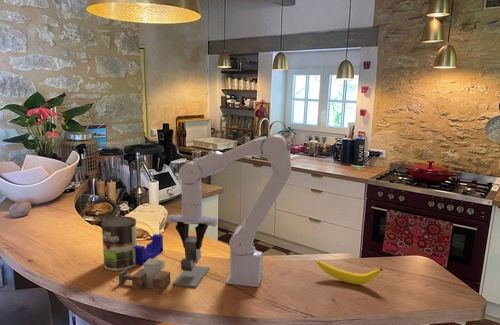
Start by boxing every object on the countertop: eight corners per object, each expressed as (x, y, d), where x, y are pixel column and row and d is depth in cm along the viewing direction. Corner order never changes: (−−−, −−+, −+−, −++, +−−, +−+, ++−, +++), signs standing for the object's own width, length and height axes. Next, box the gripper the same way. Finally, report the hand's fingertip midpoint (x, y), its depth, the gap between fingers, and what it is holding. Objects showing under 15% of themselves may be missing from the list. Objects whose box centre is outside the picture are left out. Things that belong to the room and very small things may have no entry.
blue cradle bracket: (151, 249, 128) (151, 233, 127) (163, 251, 126) (162, 235, 125) (130, 263, 117) (129, 246, 116) (142, 265, 115) (141, 247, 114)
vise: (170, 283, 104) (170, 271, 104) (162, 292, 99) (162, 280, 99) (126, 278, 107) (126, 266, 106) (117, 286, 102) (116, 274, 102)
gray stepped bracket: (200, 257, 110) (199, 236, 108) (192, 271, 103) (190, 249, 101) (190, 255, 111) (188, 235, 109) (180, 270, 104) (178, 248, 102)
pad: (209, 269, 113) (209, 267, 113) (195, 288, 102) (195, 286, 102) (188, 266, 115) (188, 265, 115) (172, 285, 103) (172, 283, 103)
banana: (316, 273, 111) (316, 253, 110) (381, 287, 103) (383, 266, 102) (313, 277, 109) (314, 257, 108) (380, 292, 101) (382, 270, 100)
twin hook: (175, 267, 114) (174, 246, 113) (155, 288, 101) (155, 264, 100) (154, 265, 116) (153, 244, 114) (132, 285, 103) (131, 262, 102)
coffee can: (121, 273, 110) (119, 228, 108) (96, 267, 114) (93, 223, 112) (144, 260, 119) (143, 218, 117) (120, 254, 123) (118, 214, 121)
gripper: (162, 204, 103) (163, 250, 105) (211, 208, 100) (211, 254, 103) (172, 198, 110) (173, 241, 112) (218, 201, 107) (219, 245, 109)
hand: (192, 247), depth 108 cm, fingers closed on gray stepped bracket, 3 cm apart
